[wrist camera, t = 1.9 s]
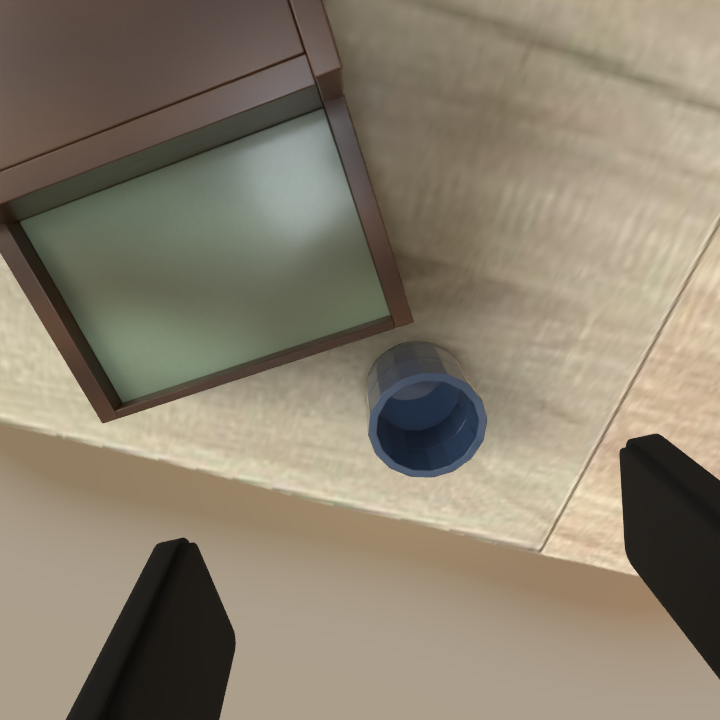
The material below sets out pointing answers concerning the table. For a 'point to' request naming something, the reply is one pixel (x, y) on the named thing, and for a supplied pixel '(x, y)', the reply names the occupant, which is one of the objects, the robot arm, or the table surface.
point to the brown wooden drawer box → (186, 192)
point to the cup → (423, 410)
